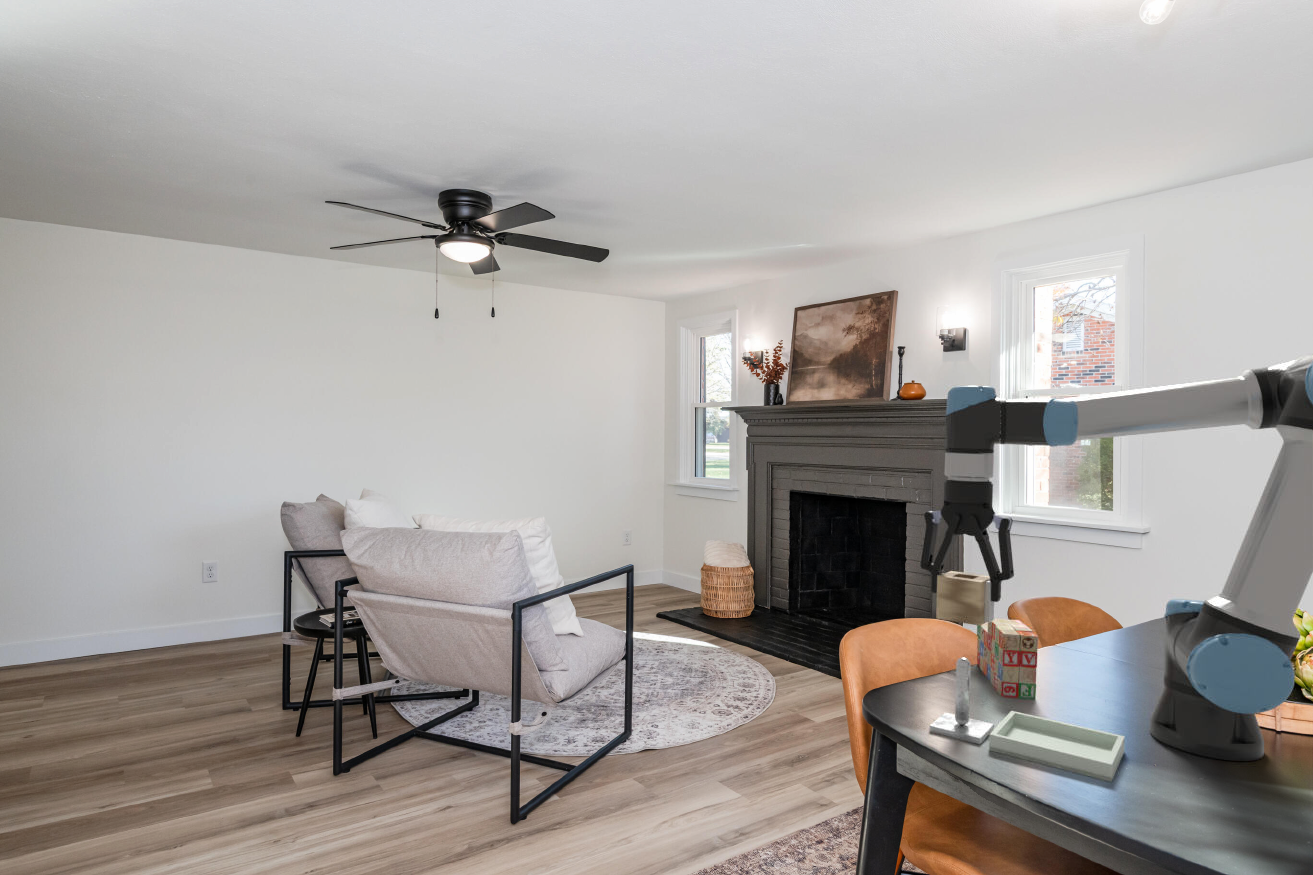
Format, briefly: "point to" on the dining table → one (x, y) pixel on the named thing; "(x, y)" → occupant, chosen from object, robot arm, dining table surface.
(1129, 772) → the dining table surface
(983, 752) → the dining table surface
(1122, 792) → the dining table surface
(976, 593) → the oak block
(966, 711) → the post
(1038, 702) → the dining table surface
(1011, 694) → the stack of blocks
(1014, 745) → the tray
